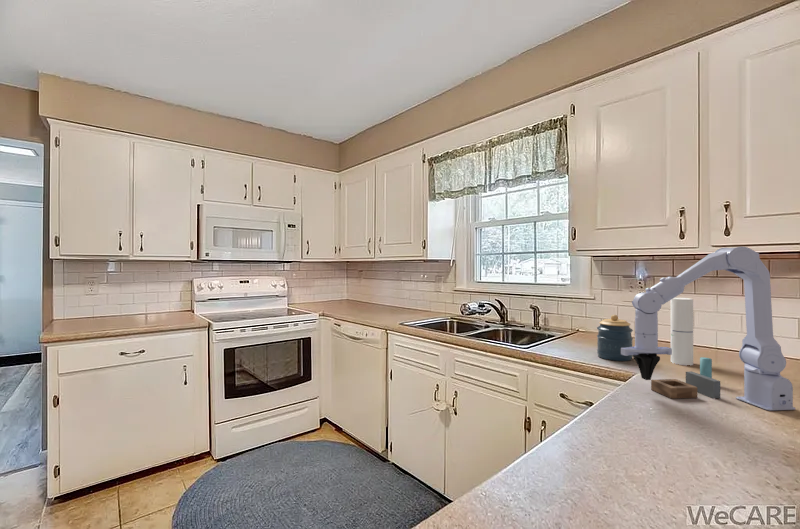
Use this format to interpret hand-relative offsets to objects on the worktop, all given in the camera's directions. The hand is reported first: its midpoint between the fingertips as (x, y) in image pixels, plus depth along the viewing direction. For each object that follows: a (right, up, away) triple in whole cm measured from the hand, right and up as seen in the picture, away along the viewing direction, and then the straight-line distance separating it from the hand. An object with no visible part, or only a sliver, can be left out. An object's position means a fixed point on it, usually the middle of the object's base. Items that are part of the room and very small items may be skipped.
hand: (646, 379), depth 115 cm
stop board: (+18, -5, +1) cm, 18 cm away
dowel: (+26, -4, +10) cm, 28 cm away
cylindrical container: (+36, -4, +35) cm, 51 cm away
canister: (+15, -5, +45) cm, 48 cm away
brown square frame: (+9, -5, +1) cm, 10 cm away
